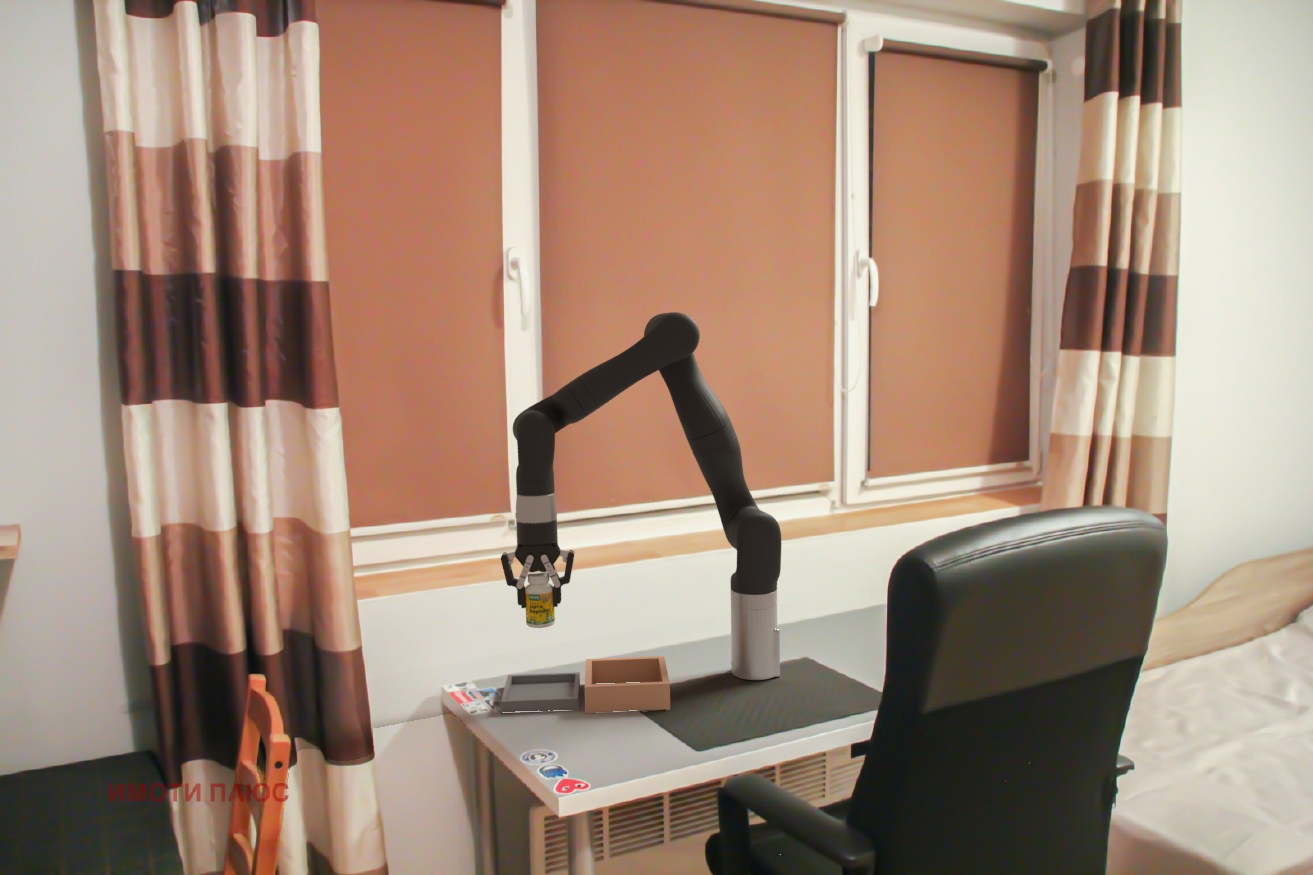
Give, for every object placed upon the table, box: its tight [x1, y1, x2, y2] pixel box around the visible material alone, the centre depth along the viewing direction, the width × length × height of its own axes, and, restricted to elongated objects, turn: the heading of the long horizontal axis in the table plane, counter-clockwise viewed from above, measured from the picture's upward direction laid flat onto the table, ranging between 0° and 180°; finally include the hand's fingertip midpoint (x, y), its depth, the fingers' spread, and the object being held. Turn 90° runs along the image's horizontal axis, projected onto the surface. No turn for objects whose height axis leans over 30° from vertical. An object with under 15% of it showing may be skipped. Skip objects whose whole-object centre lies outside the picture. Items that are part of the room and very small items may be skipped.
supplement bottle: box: [525, 571, 556, 629], centre depth 179 cm, size 5×5×10 cm
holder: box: [584, 655, 671, 714], centre depth 181 cm, size 15×15×5 cm
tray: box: [500, 671, 581, 713], centre depth 181 cm, size 14×14×2 cm
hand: (539, 606), depth 179 cm, fingers closed on supplement bottle, 5 cm apart
